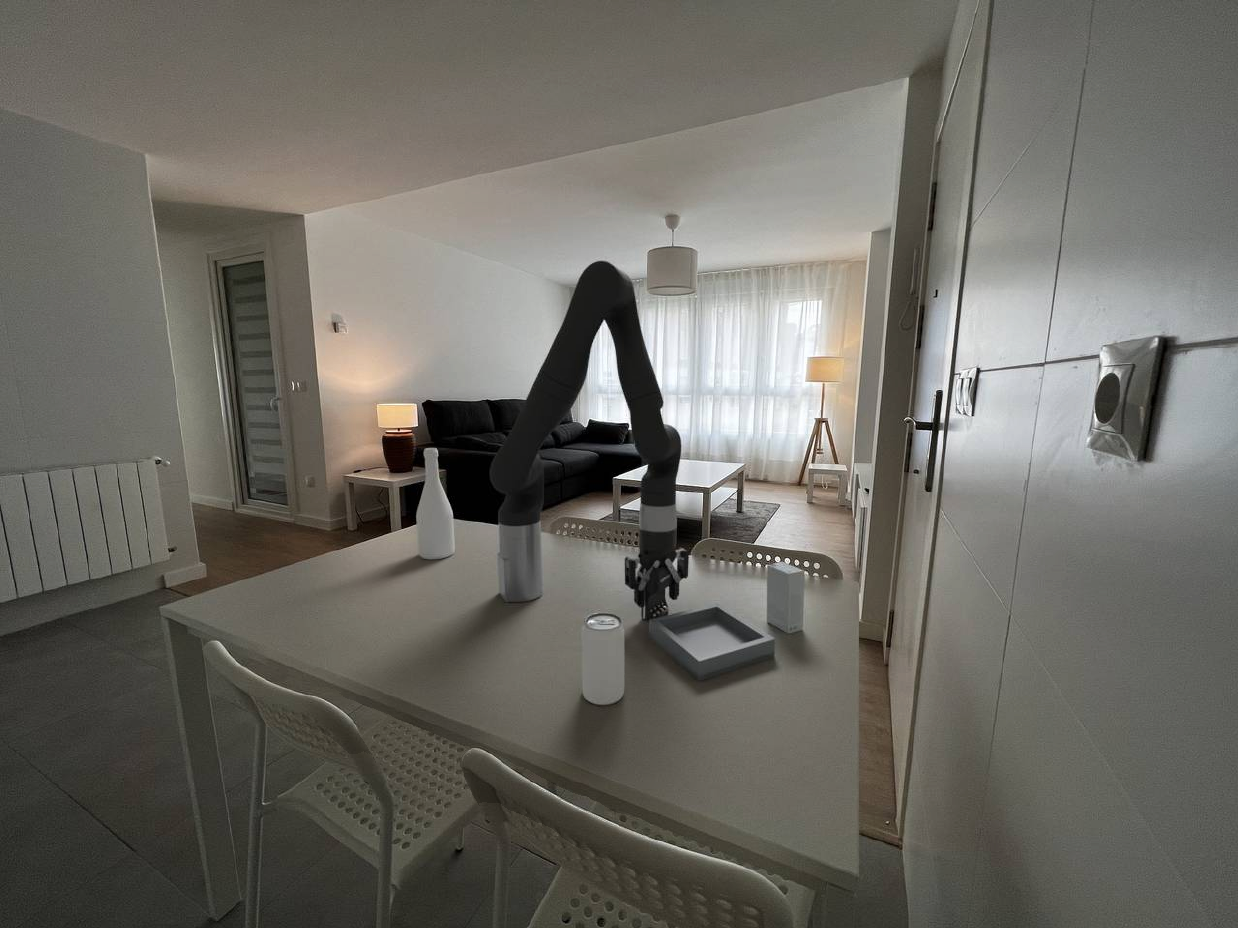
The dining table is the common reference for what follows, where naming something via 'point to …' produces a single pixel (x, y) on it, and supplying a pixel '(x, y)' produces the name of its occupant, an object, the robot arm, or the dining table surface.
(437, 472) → the wine bottle
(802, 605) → the skincare box
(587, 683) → the can
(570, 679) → the dining table surface
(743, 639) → the tray
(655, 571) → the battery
